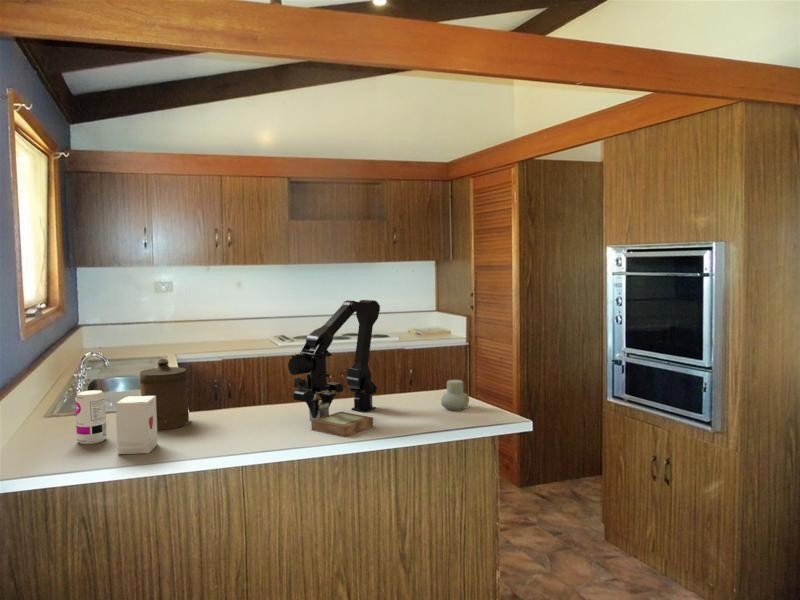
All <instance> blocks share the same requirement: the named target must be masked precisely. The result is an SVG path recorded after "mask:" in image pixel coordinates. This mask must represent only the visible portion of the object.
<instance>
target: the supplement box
mask: <svg viewBox="0 0 800 600" xmlns="http://www.w3.org/2000/svg"><path fill="white" fill-rule="evenodd" d="M115 417H116V419H115V420H116V444H117V448H116V449H117V455H135V454H138V455H139V454H150V452H152V451H153V450H154V449H155V447H157V446H158V445H159V444H158V430H157V414H156V396H140V395H137V396H130V395H129V396H126V397H123V398H122V399H120V400H118V401H117V402H116V403H115Z"/></svg>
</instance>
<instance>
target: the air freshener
mask: <svg viewBox="0 0 800 600" xmlns="http://www.w3.org/2000/svg"><path fill="white" fill-rule="evenodd" d="M469 396H470V395H468V394H467V393H466V392H464V381H463V380H461V379H449V380H447V381H446V392H445V393H443V394H442V396H441V399H440V402H441V406H442V407H443V408H445V409H446V410H450V411H463V410H464V409H466V408H467V407H468V406H469V404H470V403H469V402H470V397H469Z"/></svg>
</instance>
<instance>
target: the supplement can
mask: <svg viewBox="0 0 800 600" xmlns="http://www.w3.org/2000/svg"><path fill="white" fill-rule="evenodd" d="M74 404H75V405H74V407H75V425H76V426H75V428H76V441H77V442H78V443H79V444H81V445H94V444H98V443H99V444H100V443H102V442H104V441H105V440H106V439H107V437H108V436H107V435H108V434H107V433H108V432H107V415H106V414H107V413H106V410H107V409H106V396H105V394H104V392H103V391H102V390H99V389H93V390H89V389H88V390H83V391H79V392H77V393H76V396H75V398H74Z"/></svg>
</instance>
